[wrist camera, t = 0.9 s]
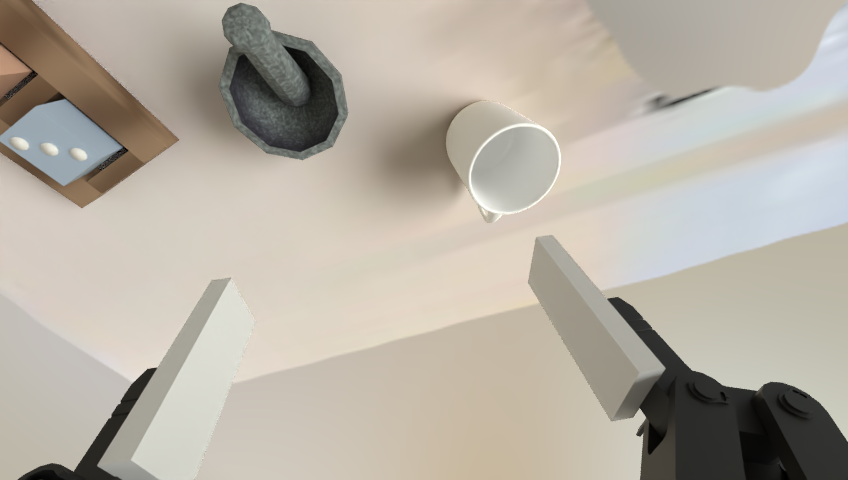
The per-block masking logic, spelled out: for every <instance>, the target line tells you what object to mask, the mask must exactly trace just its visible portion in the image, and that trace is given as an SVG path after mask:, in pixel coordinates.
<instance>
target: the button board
mask: <svg viewBox="0 0 848 480" xmlns="http://www.w3.org/2000/svg"><path fill="white" fill-rule="evenodd" d="M0 42H1V43H2V44H3V45H4V46H6V47H7V48H8V49H9V50H10V51H11V52H13V53H14V54H15V55H16V56H17V57H19V58H20V59H21V60H22V61H23V62H24V63H26V64H27V65H28V66H29V67H30V68H32V69H33V70H34V71H35V72H36V73H38V75H37V76H36V77H35V78H34V79H32V80H31V81H30V82H29V83H28V84H27V85H25V86H24V87H23V88H22V89H21V90H19V91H18V92H17V93H16V94H15V95H14V96H12V97H11V98H10V99H8V98H6V97H5V96H3V97H2V98H1V99H0V136H1V135H2V134H3V133H4V132H5V131H7V130H8V129H9V128H10V127H11V126H13V125H14V124H15V123H16V122H17V121H19V120H20V119H21V118H22V117H24V116H25V115H26V114H27V113H28V112H30V111H31V110H32V109H33V108H34V107H36V106H38V105H43V104H47V103H51V102H55V101H59V100H64V99H68V100H70V101H71V102H72V103H73V104H74V105H75V106H77V107H78V108H79V109H80V110H81V111H83V112H84V113H85V114H86V115H87V116H89V117H90V118H91V119H92V120H93V121H94V122H96V123H97V124H98V125H99V126H100V127H102V128H103V129H104V130H105V131H106V132H107V133H109V134H110V135H111V136H112V137H113V138H115V139H116V140H117V141H118V142H119V143H121V144H122V145H123V146H124V147H125V148H126V149H128V150H129V151H128V152H126V153H125V154H124V155H122V156H121V157H120V158H118V159H117V160H116V161H114V162H113V163H112V164H110V165H109V166H107V167H106V168H105V169H103V170H102V171H101V170H100V169H98V168H97V167H96V168H95V169H93V170H92V171H91V172H89V173H88V174H86V175H84V176H82V177H80V178H78V179H77V180H75V181H73V182H71V183H69V184H67V185H65V186H63V185H61V184H60V183H59V182H57V181H56V180H54V179H53V178H51V177H50V176H49V175H47V174H46V173H44V172H43V171H41V170H40V169H39V168H37V167H36V166H34V165H33V164H31V163H30V162H29V161H27V160H26V159H24V158H23V157H21V156H20V155H19V154H17V153H16V152H14V151H13V150H11V149H10V148H9V147H7V146H6V145H4V144H3V143H1V142H0V152H1V153H2V154H4V155H5V156H7V157H8V158H10V159H11V160H12V161H14V162H15V163H17V164H18V165H20V166H21V167H23V168H24V169H26V170H27V171H28V172H30V173H31V174H33V175H34V176H36V177H37V178H39V179H40V180H42V181H43V182H45V183H46V184H47V185H49V186H50V187H52V188H53V189H55V190H56V191H58V192H59V193H61V194H62V195H63V196H65V197H66V198H68V199H69V200H71V201H72V202H74V203H75V204H77V205H78V206H79V207H81V208H83V207H85V206H86V205H88V204H89V203H91V202H93V201H94V200H96V199H97V198H99V197H100V196H102V195H103V194H104V193H106V192H107V191H109V190H110V189H111V188H113V187H114V186H116V185H117V184H118V183H120V182H121V181H123V180H124V179H125V178H127V177H128V176H130V175H131V174H132V173H134V172H135V171H137V170H138V169H139V168H141V167H142V166H144V165H145V164H146V163H148V162H149V161H150V160H152V159H153V158H155V157H156V156H157V155H159V154H160V153H162V152H163V151H164V150H166V149H167V148H169V147H170V146H171V145H173V144H174V143H176V142H177V141H178V140H179V139H178V138H177V137H176V136H174V135H173V134H172V133H171V132H170V131H169V130H168V129H167V128H166V127H165V126H164V125H163V124H162V123H161V122H160V121H159V120H158V119H157V118H155V117H154V116H153V115H152V114H151V113H150V112H149V111H148V110H147V109H146V108H145V107H144V106H143V105H142V104H141V103H140V102H139V101H137V100H136V99H135V98H134V97H133V96H132V95H131V94H130V93H129V92H128V91H127V90H126V89H125V88H124V87H123V86H122V85H121V84H119V83H118V82H117V81H116V80H115V79H114V78H113V77H112V76H111V75H110V74H109V73H108V72H107V71H106V70H105V69H104V68H103V67H102V66H100V65H99V64H98V63H97V62H96V61H95V60H94V59H93V58H92V57H91V56H90V55H89V54H88V53H87V52H86V51H85V50H84V49H82V48H81V47H80V46H79V45H78V44H77V43H76V42H75V41H74V40H73V39H72V38H71V37H70V36H69V35H68V34H67V33H66V32H65V31H63V30H62V29H61V28H60V27H59V26H58V25H57V24H56V23H55V22H54V21H53V20H52V19H51V18H50V17H49V16H48V15H47V14H45V13H44V12H43V11H42V10H41V9H40V8H39V7H38V6H37V5H36V4H35V3H34V2H33V1H32V0H0Z"/></svg>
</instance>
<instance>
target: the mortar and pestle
mask: <svg viewBox="0 0 848 480" xmlns="http://www.w3.org/2000/svg"><path fill="white" fill-rule="evenodd" d="M222 25H223V30H224V36H225V37H226V38H227V39H228V41H229V42H230V43H231V44H232V45H233V47H231V48H230V49H229V52H228V56H227V59H226V63H225V66H224V70H223V73H222V77H221V80H220V84H219V88H220V91H221V94H222V96H223V99H224V101H225V104H226V106H227V109H228V112H229V114H230V117H231V119H232V122H233V124H234V127H236V128H237V129H238V130H239V131H240V132H242V133H243V134H244V135H245V136H246V137H248V138H249V139H250V140H251V141H252V142H254V143H255V144H256V145H257V146H258V147H260V148H261V149H262V150H263V151H265V152H266V153H269V154H274V155H279V156H284V157H290V158H295V159H300V160H304V159H306V158H308V157H310V156H313V155H315V154H317V153H319V152H322V151H324V150H326V149H328V148H330V147H333V145H334V143H335V141H336V139H337V137H338V134H339V132H340V130H341V128H342V126H343V124H344V122H345V120H346V118H347V116H348V109H347V103H346V98H345V92H344V87H343V82H342V76H341V74H340V73H339V72H338V70H337V69H336V68H335V67H334V66H333V65H332V64H331V62H330V61H329V60H328V59H327V58H326V57H325V56H324V55H323V53H322V52H321V51H320V50H319V49H318V48H317V47H316V46H315V44H314V43H313V42H312V41H308V40H305V39H301V38H298V37H294V36H290V35H287V34H283V33H280V32H276V31H273V30H271V27H270V22H269V21H268V20H267V18H266V17H265V16H264V15H263V14H262V13H261V12H260V11H259V9H258V8H257V7H255V6H251V5H247V4H243V3H239V4H237V5H234V6H232V7H230V8H228V9H227V11H226V13H225V15H224V17H223V19H222Z"/></svg>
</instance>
